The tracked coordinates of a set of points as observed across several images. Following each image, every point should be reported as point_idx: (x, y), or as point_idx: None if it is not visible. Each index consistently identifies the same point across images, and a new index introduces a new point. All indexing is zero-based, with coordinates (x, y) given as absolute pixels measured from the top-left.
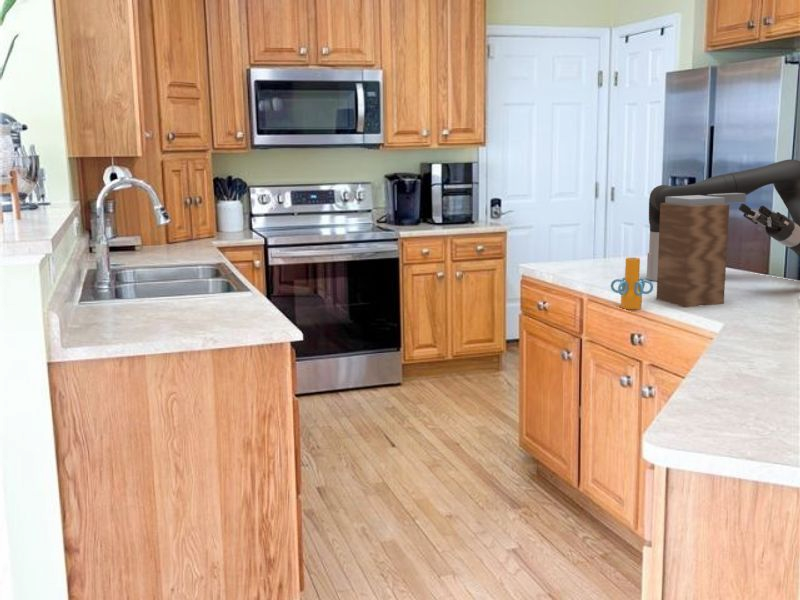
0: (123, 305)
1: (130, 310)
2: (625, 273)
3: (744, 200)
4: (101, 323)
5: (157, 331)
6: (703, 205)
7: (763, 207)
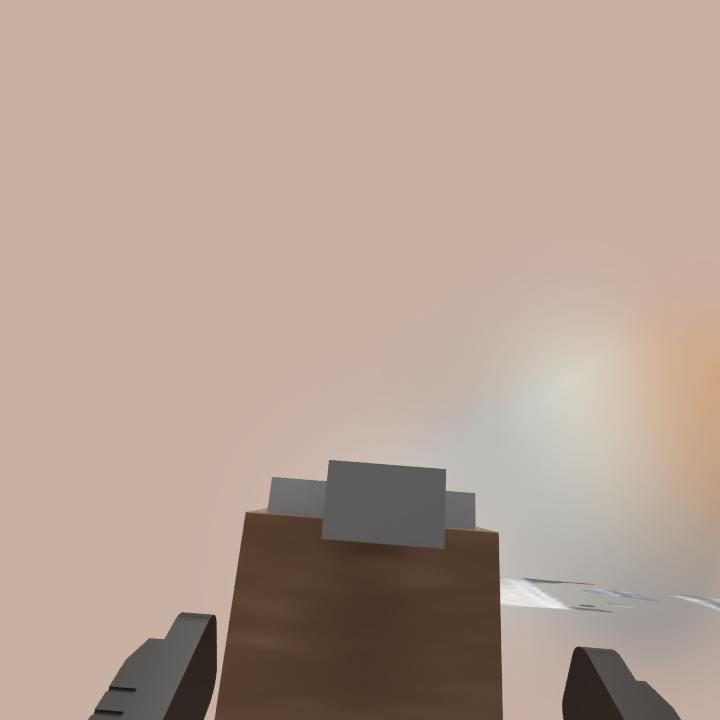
0: (505, 581)
1: None
2: None
3: (323, 524)
4: None
5: None
6: None
7: (168, 642)
